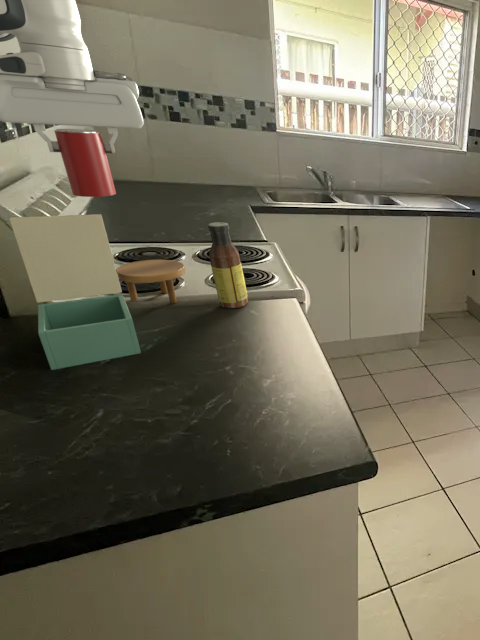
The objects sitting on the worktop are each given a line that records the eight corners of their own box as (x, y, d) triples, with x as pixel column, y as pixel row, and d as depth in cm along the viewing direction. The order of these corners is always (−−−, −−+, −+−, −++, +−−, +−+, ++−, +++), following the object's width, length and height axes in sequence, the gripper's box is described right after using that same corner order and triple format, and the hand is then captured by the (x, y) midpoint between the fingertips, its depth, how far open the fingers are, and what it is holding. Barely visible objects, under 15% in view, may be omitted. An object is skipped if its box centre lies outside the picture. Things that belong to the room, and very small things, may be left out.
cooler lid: (101, 214, 91) (100, 214, 91) (8, 217, 83) (9, 217, 84) (122, 292, 96) (121, 291, 96) (36, 302, 88) (37, 302, 89)
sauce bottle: (244, 298, 120) (233, 219, 111) (251, 307, 116) (240, 225, 107) (215, 302, 116) (200, 221, 107) (221, 311, 112) (206, 227, 103)
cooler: (141, 356, 90) (132, 319, 87) (52, 373, 82) (38, 333, 79) (131, 328, 100) (122, 294, 96) (50, 342, 92) (37, 304, 88)
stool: (110, 303, 110) (100, 270, 107) (160, 286, 122) (153, 256, 118) (155, 313, 107) (147, 279, 104) (202, 295, 119) (197, 265, 116)
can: (63, 193, 88) (44, 128, 83) (99, 189, 94) (82, 128, 89) (90, 198, 87) (72, 132, 82) (124, 194, 92) (109, 132, 88)
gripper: (132, 74, 90) (149, 152, 96) (-23, 58, 77) (7, 149, 83) (137, 74, 86) (154, 155, 92) (-27, 57, 73) (5, 153, 79)
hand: (83, 152), depth 87 cm, fingers closed on can, 6 cm apart
